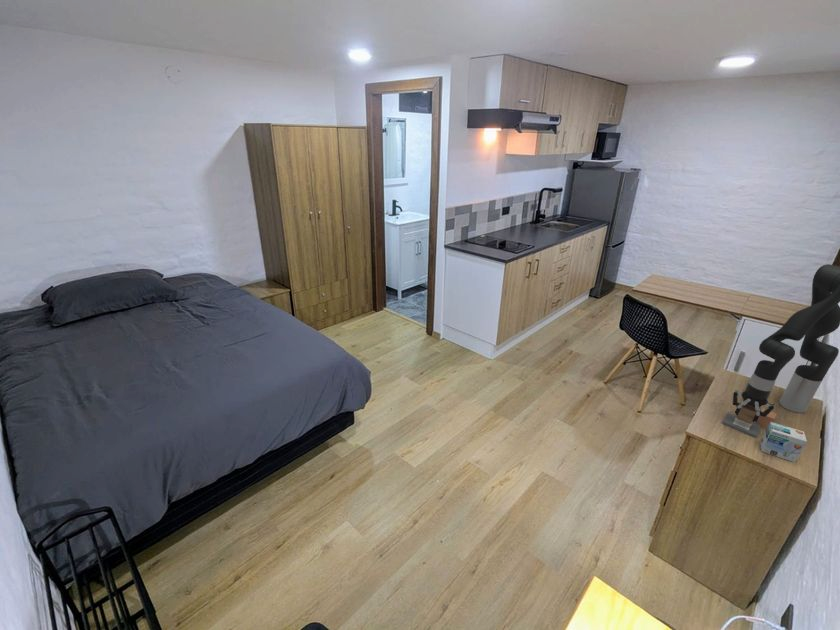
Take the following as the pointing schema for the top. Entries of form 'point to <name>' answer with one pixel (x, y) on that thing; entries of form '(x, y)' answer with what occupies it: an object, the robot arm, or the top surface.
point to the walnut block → (747, 413)
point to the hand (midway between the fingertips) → (745, 417)
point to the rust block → (766, 419)
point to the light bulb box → (783, 441)
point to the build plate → (742, 425)
